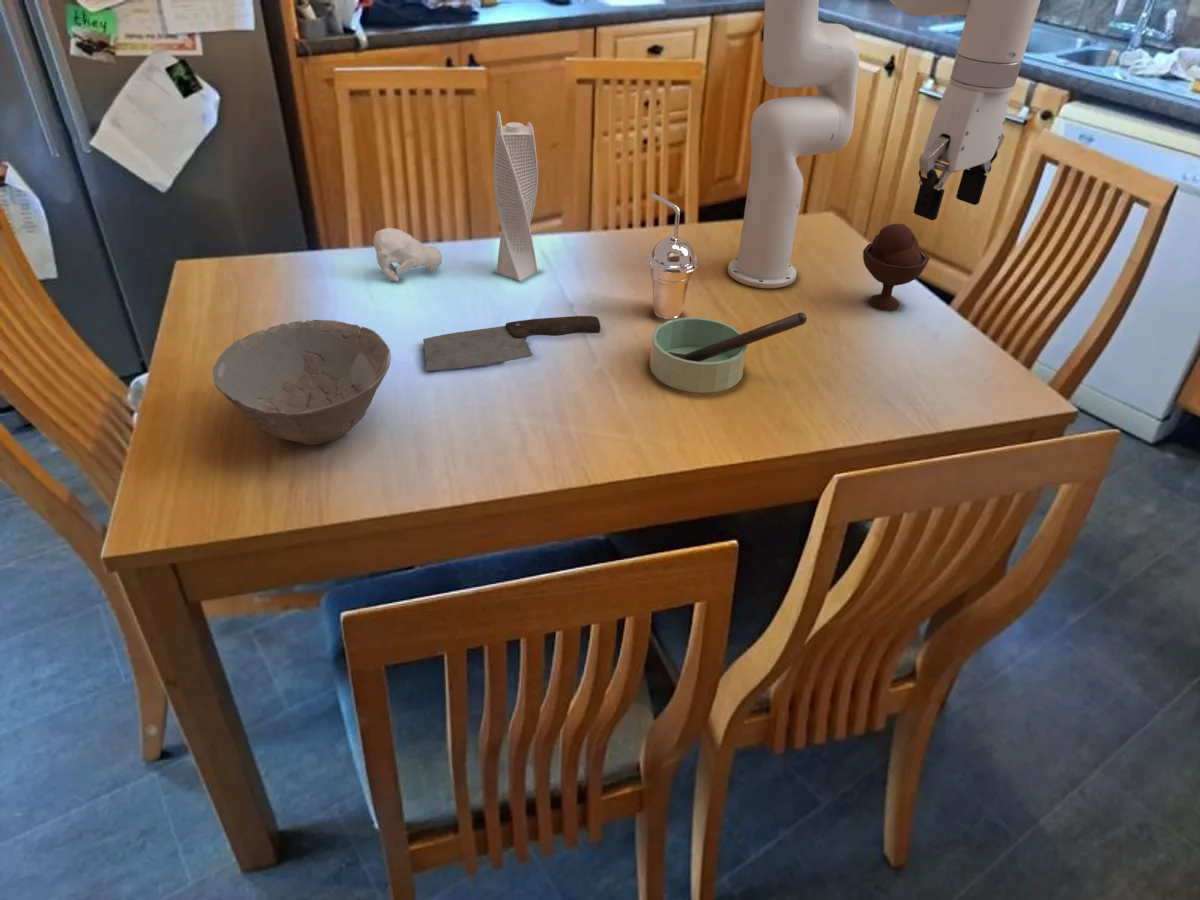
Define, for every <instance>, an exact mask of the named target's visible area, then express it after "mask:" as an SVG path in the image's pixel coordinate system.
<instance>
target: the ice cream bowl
mask: <svg viewBox="0 0 1200 900" xmlns="http://www.w3.org/2000/svg"><path fill="white" fill-rule="evenodd" d="M916 237H917V236H915V233H914V232H913V231H912V229H911V228H910V227H908V226H907V225H906V224H904V223H891V224H889V225H885V226H884V227H882V228H881V229H880V230H879V233H878V234H877V235H875V236H874V238H873V241H872V242H871V243H868V244H867V245H866V246H865V247H864V249H863V250H862V260H863V264H864V266H865V268H866V269H867V271H868V272H869V273H870V275H871V276H872V277H873V278H874V279H875V280H876V281H877V282H878V283H881V284H882V288H881V292H880V293H877V294H873V295H871V296H870V298H869V299H868V301H867V303H868V304H869V306H870V307H871V308H874V309H876V310H879V311H883V312H892V311H897V310H899V308H900V307H901V305H900V304H901V303H900V302H899V300H898V299H897V298H895V297H894V296H893V289H894V287H897V286H901V285H905V284H909V283H912V282H913V281H914V280H916V279H918V278H919V277H920V275H921V274H922V273H923V271H924V270H925V268H926V267H927V265H928V263H929V261H930V257H929V256H928V255H927V254H926V253H925V252H924V251H923V249H920V248H919V247H920V244H919V241H918V238H916Z"/></svg>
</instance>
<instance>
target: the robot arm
mask: <svg viewBox="0 0 1200 900" xmlns="http://www.w3.org/2000/svg"><path fill="white" fill-rule="evenodd" d="M888 1H889V2H890V3H891V4H892V5H894V7H896V8H898V9H899V10H901V11H902V12H904V13H907V14H909V15H913V16H920V17H921V16H924V17H925V16H948V15H949V16H950V15H951V16H952V15H955V16H962V15H963V16H965V20H964V24H963V27H962V32H961V35H960V39H959V43H958V46H957V51H956V54H955V58H954V62H953V66H952V68H951V69H952V70H951V73H950V77H949V83H948V84H947V86H946V87H945V89H944V92H943V94H942V96H941V99H940V101H939V103H938V106H937V109H936V111H935V113H934V117H933V120H932V123H931V126H930V129H929V131H928V132H929V133H928V137H927V139H926V142H925V146H924V150H923V153H922V154H920V156H919V159H918V162H919V163H918V164H919V170H918V177H919V180H918V184H919V189H918V192H917V197H916V200H915V204H914V207H913V214H914V215H916V216H918V217H919V216H920V217H921V218H925V219H927V220H929V221H935V220H937V219H938V216H939V212H940V208H941V206H942V202H943V198H944V194H945V189H944V188H943V187H944V186H945V184H946V182H947V181H948V179H949V178H950V176H951V175H952V174H953V173H958V172H961V171H962V175H961V178H960V182H959V185H958V188H957V192H956V196H955V197H956V199H957V200H958V201H961V202H965V203H966V204H970V205H973V206H977V205H978V204H980V201H981V198H982V195H983V192H984V188H985V185H986V181H987V178H988V175H990V173H991V171H992V164H993V162H994V161H995V159H996V158H997V156H998V152H999V150H1000V147H1001V146H1002V144H1003V142H1004V141H1005V135H1004V134H1003V129H1004V126H1005V121H1006V118H1007V113H1008V110H1009V109H1008V108H1009V103H1010V100H1011V92H1013V91H1014V90H1015V86H1016V83H1017V80H1018V76H1019V73H1020V70H1021V66H1022V63H1023V60H1024V56H1025V54H1026V50H1027V47H1028V44H1029V41H1030V37H1031V33H1032V30H1033V27H1034V25H1035V19H1036V18H1037V13H1038V10H1039V7H1040V4H1041V0H888ZM819 6H820V0H764V14H763V15H764V16H763V38H762V39H763V41H762V42H763V43H762V72H763V77H764V79H765V81H766V82H767V84H768V85H770V86H772V87H775V88H779V89H798V88H816V94H815V95H798V96H797V95H795V96H780V97H776V98H771V99H768V100H766V101H764V102H763V103H760V105H759V106H757V108H756V109H755V110H754V111H753V114H752V116H751V121H750V145H751V146H750V166H749V167H750V168H749V178H748V183H747V184H748V185H747V192H746V200H745V207H744V212H743V220H742V228H741V234H740V241H739V249H738V256H737V257H734V258H733V259H732V260H730V261H729V263H728V266H727V273H728V275H729V276H730V277H731V278H732V279H734V280H735V281H737V282H738V283H740V284H742V285H745V286H748V287H753V288H758V289H781V288H785V287H787V286H790V285H791V284H793V283H794V282H795V280H796V278H797V269H796V268H795V266H794V265H793V264H791V259H792V254H793V248H794V242H795V236H796V230H797V227H798V226H797V225H798V220H799V214H800V208H801V203H802V197H803V192H804V178H803V174H802V172H801V170H800V168H799V166H798V163H797V158H800V157H804V156H813V155H814V156H815V155H824V154H825V155H826V154H832V153H837V152H839V151H841V150H842V149H844V148H845V147H846V146H847V145H848V143H849V141H850V139H851V137H852V134H853V130H854V126H855V125H854V124H855V114H856V103H857V92H858V91H857V90H858V82H859V81H858V80H859V69H860V50H859V44H858V41H857V38H856V35H855V34H854V32H853V31H852V30H851V28H849V27H848V26H846V25H844V24H840V23H819ZM937 171H940V172H941V174H940V175H939V176H938V174H937Z"/></svg>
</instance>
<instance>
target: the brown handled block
mask: <svg viewBox="0 0 1200 900" xmlns="http://www.w3.org/2000/svg"><path fill="white" fill-rule="evenodd" d="M807 319H808V318H807V315H806V314H805V313H804V312H797V313H795V314H792V315H789V316H786V317H784V318H781V319H778V320H775V321H773V322H770V323H767V324H765V325H764V324H763V325H761V326H759V327H756V328H754V329H751V330H748V331H745V332H743V333H742V332H741V333H742V334H740V335H737V336H734V337H731V338H729V339H726V340H723V341H720V342H718V343H715V344H712V345H710V346H707V347H704V348H701V349H699V350H696V351H693V352H690V353H688V354H679V353H672V352H668V353H670V354H671V355H673V356H675V357H678V358H682V359H685V360H689V361H696V362H700V361H703V360H706V359H709V358H711V357H714V356H717V355H720V354H723V353H725V352H728V351H731V350H734V349H736V348H739V347H742V346H745V345H747V346H748V345H750V344H753V343H757V342H758V341H762V340H764V339H767V338H770V337H772V336H775V335H778V334H781V333H783V332H787V331H790V330H791V329H795V328H797V327H801V326H803V325H805V324H806V323H807Z"/></svg>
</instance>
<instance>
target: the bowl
mask: <svg viewBox="0 0 1200 900" xmlns="http://www.w3.org/2000/svg"><path fill="white" fill-rule="evenodd" d="M740 334H742V332H741V331H740V330H738V328H736V327H734V326H732V325H729V324H727V323H726V322H722V321H719V320H717V319H712V318H704V317H695V316H694V317H680V318H673V319H669V320H667V321H665V322H663V323H660V324H659V325H658V326H657V327H656V328H655V329H654V330H653V333H652V335H651V341H650V353H649V354H650V355H649V368H650V371H651V373H652V375H653V376H654V377H655V378H656V379H657V380H658V381H659V382H661V383H662V384H663V385H664V384H665V385H666V386H668V387H671V388H673V389H675V390H679V391H683V392H687V393H694V394H711V393H713V394H714V393H719V392H722V391H726V390H729V389H731V388H733V387H735V386H736V385H737V384H738V383H739V382H740V381H741V379H742V378H743V373H744V367H745V361H746V355H747V348H748V345H745V346H742V347H739V348H736V349H734V350H731V351H728V352H725V353H723V354H720V355H717V356H714V357H711V358H709V359H706V360H703V361H700V362H696V361H689V360H685V359H682V358H678V357H675V356H673V355H671V354H670V353H668V352H672V353H679V354H688V353H690V352H693V351H696V350H699V349H701V348H704V347H707V346H710V345H712V344H715V343H718V342H720V341H723V340H726V339H729V338H731V337H734V336H737V335H740Z"/></svg>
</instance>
